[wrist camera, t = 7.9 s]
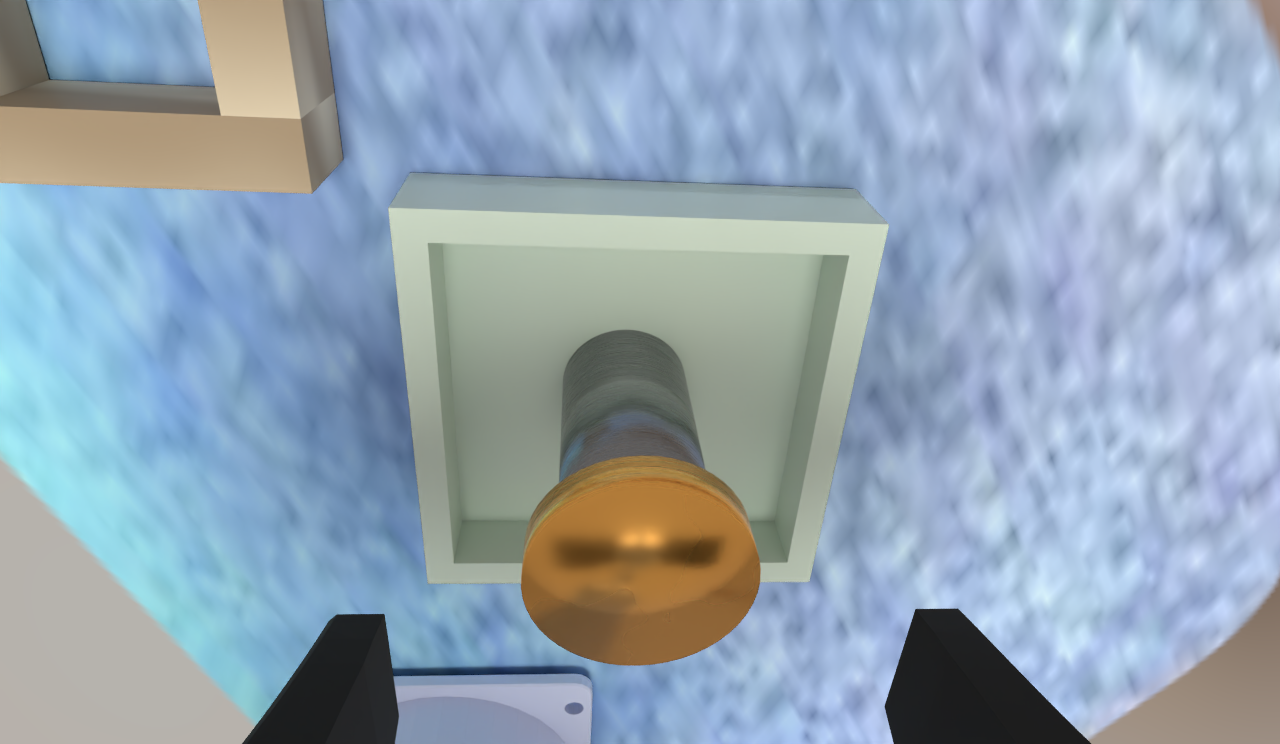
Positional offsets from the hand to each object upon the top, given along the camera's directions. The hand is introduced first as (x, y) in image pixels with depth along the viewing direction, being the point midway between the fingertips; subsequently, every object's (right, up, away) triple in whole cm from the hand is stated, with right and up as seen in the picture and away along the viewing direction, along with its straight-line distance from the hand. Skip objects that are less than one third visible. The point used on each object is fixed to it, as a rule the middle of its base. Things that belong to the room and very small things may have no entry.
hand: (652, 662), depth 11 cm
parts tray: (0, +4, +7) cm, 8 cm away
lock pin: (0, +4, +6) cm, 7 cm away
